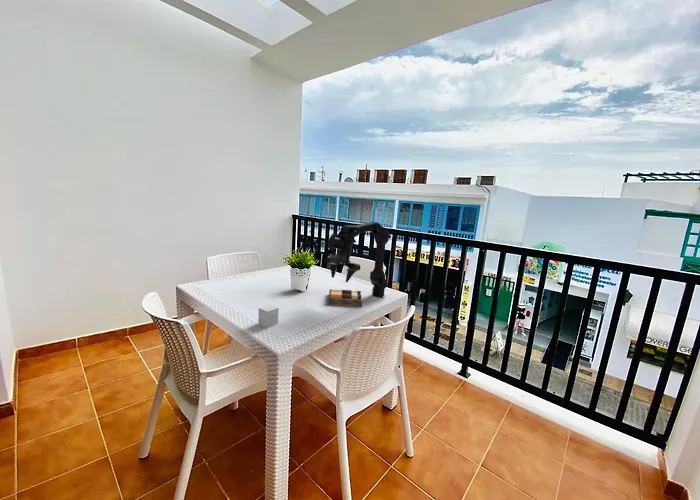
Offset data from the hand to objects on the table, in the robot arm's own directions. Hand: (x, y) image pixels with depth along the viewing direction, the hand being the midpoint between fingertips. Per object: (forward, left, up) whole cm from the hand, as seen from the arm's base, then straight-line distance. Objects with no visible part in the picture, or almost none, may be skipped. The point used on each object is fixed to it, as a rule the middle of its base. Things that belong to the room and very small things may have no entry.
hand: (339, 279), depth 141 cm
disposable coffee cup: (+22, -23, -15) cm, 35 cm away
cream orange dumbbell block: (-3, -6, -13) cm, 15 cm away
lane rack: (-4, -10, -14) cm, 18 cm away
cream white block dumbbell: (-3, -13, -13) cm, 19 cm away
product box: (+29, +24, -15) cm, 41 cm away
